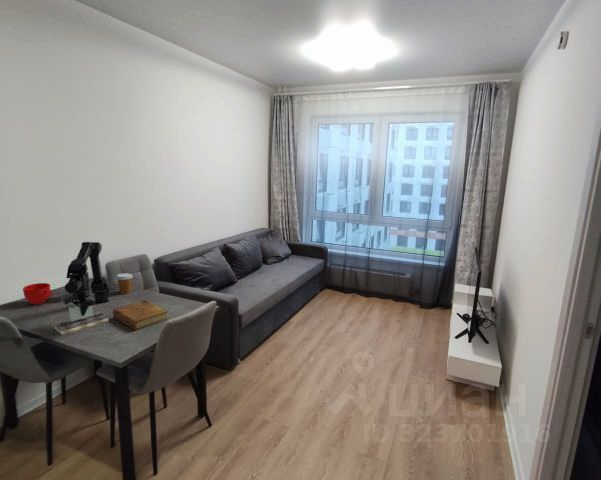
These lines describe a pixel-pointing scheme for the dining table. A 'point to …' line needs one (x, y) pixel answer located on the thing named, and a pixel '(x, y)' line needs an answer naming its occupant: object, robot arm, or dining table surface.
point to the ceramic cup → (37, 293)
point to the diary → (140, 315)
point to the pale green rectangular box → (79, 312)
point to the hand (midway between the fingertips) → (81, 314)
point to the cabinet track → (81, 323)
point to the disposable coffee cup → (124, 282)
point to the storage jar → (86, 284)
